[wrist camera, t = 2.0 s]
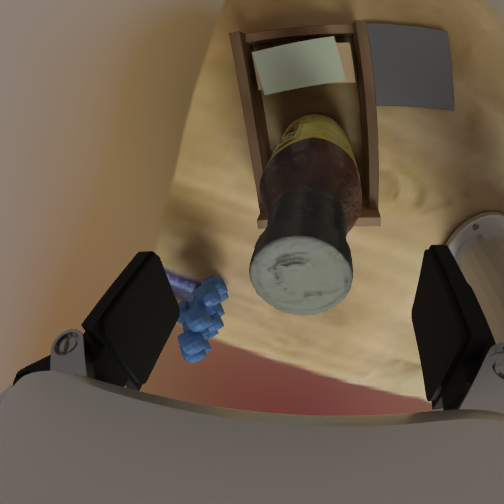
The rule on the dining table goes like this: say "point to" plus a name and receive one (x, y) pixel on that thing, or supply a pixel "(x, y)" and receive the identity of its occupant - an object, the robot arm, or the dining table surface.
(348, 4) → the dining table surface
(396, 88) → the mat
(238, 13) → the dining table surface
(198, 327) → the grapes
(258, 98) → the wooden tray
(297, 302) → the sauce bottle
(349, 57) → the plate
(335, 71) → the offcut top
